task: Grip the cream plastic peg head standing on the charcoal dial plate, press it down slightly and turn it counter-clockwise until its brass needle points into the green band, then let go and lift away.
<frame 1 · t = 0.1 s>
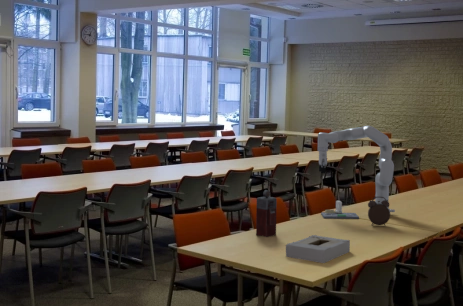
hand: (322, 172, 459), 31 cm above the table, tool pointing down, fingers open, 9 cm apart
peg: (333, 207, 453), point 6 cm above the table, hinge at 0.0°
box: (318, 255, 337), on the table
maroon square bottle: (267, 235, 384), on the table
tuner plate: (339, 216, 450), on the table
alarm clock: (378, 226, 416), on the table
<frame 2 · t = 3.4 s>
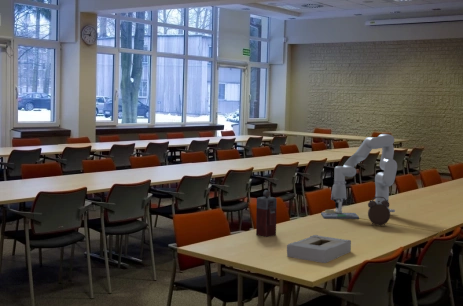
hand: (338, 207, 454), 6 cm above the table, tool pointing down, fingers closed on peg, 2 cm apart
peg: (333, 207, 453), point 6 cm above the table, hinge at 0.0°, touching gripper
everything else where it was.
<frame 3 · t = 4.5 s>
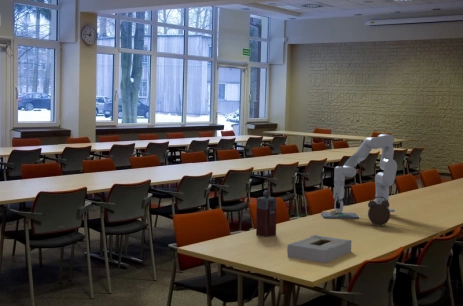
hand: (338, 207, 454), 6 cm above the table, tool pointing down, fingers closed on peg, 2 cm apart
peg: (335, 207, 451), point 6 cm above the table, hinge at 33.3°, touching gripper
everything else where it was.
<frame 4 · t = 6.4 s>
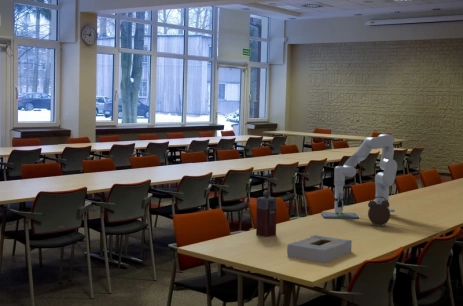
hand: (338, 206, 454), 7 cm above the table, tool pointing down, fingers open, 9 cm apart
peg: (339, 208, 450), point 6 cm above the table, hinge at 73.3°
everything else where it was.
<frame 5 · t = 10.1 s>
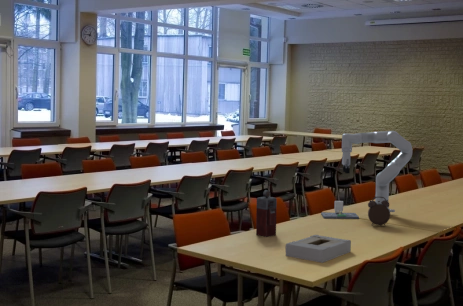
hand: (346, 172, 465), 30 cm above the table, tool pointing down, fingers open, 9 cm apart
peg: (339, 208, 450), point 6 cm above the table, hinge at 74.0°
at the end: peg at +74° (first picture: +0°); the gripper is holding nothing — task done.
